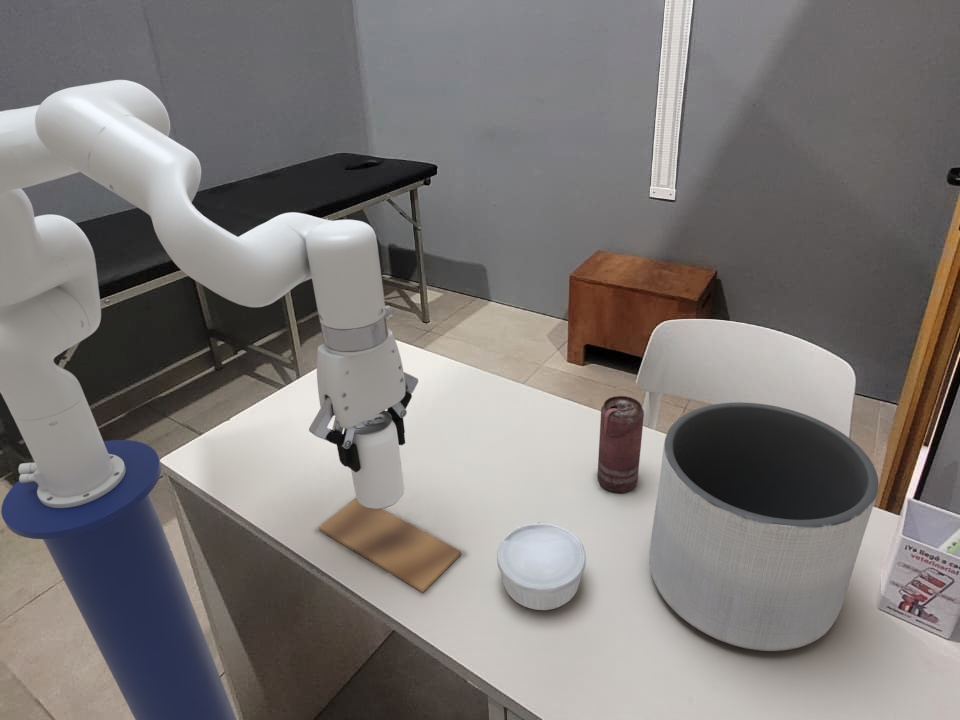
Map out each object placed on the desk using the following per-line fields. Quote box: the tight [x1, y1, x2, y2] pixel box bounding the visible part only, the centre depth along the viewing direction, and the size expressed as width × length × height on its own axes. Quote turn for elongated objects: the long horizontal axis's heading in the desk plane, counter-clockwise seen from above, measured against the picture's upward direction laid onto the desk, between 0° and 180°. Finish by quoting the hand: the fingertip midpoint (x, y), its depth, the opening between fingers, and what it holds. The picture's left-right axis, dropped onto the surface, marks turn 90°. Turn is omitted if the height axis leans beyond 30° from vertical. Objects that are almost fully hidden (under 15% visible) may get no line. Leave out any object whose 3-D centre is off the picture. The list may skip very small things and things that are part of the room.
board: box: [318, 497, 462, 593], centre depth 91 cm, size 20×8×1 cm, turn 53°
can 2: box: [596, 395, 645, 494], centre depth 97 cm, size 6×6×14 cm
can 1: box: [350, 410, 405, 510], centre depth 84 cm, size 6×6×12 cm
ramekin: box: [496, 522, 587, 611], centre depth 82 cm, size 11×11×5 cm
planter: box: [649, 402, 879, 652], centre depth 78 cm, size 23×23×20 cm
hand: (374, 452), depth 84 cm, fingers closed on can 1, 6 cm apart
